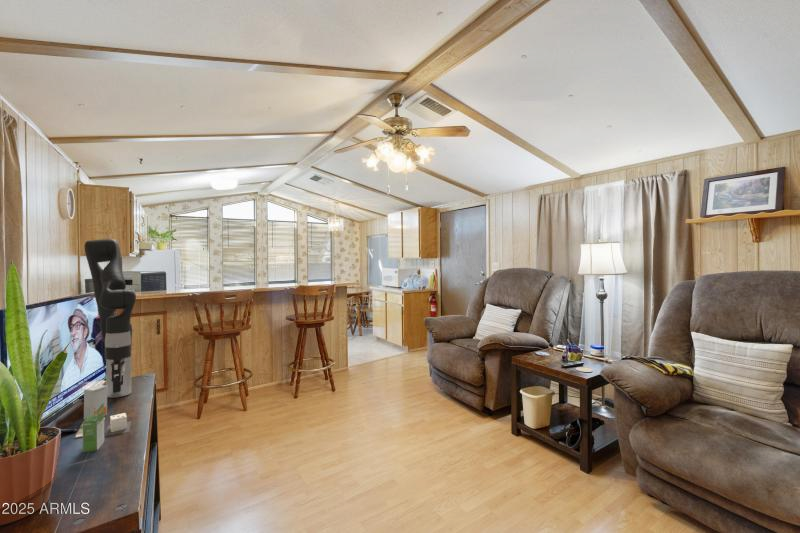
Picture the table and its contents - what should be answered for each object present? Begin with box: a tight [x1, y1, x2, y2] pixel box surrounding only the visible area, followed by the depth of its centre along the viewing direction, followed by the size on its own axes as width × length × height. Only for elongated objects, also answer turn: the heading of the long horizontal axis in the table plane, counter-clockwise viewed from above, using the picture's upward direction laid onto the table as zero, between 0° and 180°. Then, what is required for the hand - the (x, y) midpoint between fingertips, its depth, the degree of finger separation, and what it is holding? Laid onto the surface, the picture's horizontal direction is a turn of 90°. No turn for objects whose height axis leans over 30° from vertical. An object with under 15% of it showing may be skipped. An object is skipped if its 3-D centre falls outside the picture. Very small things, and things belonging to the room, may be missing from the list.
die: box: [109, 412, 128, 432], centre depth 135 cm, size 4×4×5 cm
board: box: [73, 417, 107, 440], centre depth 135 cm, size 15×7×1 cm, turn 33°
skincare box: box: [83, 384, 108, 421], centre depth 145 cm, size 6×4×12 cm
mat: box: [104, 420, 132, 437], centre depth 135 cm, size 10×7×1 cm
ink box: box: [82, 403, 105, 453], centre depth 122 cm, size 7×4×13 cm, turn 23°
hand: (118, 388), depth 135 cm, fingers open, 8 cm apart
